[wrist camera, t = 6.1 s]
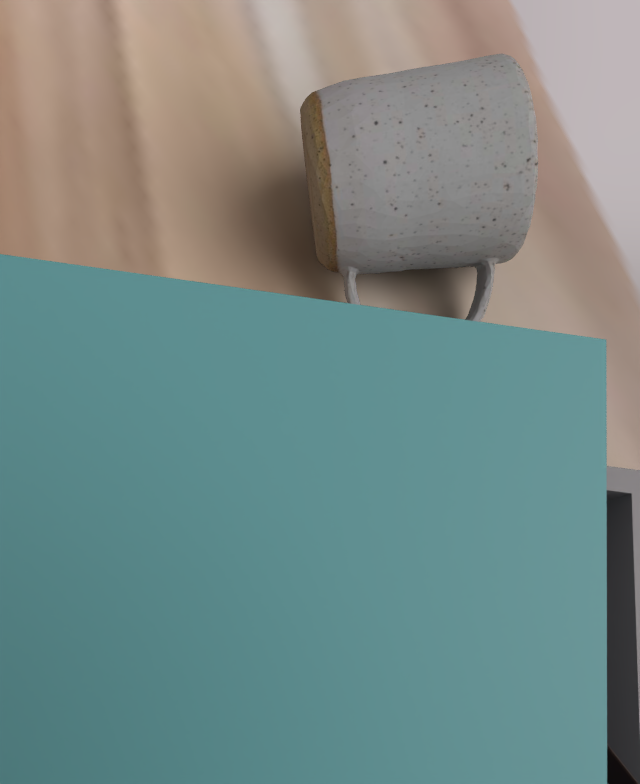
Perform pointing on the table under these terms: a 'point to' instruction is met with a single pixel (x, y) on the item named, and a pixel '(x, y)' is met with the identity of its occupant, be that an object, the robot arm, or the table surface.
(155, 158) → the table surface
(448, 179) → the ceramic mug
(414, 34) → the table surface
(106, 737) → the handle block
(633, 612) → the box
